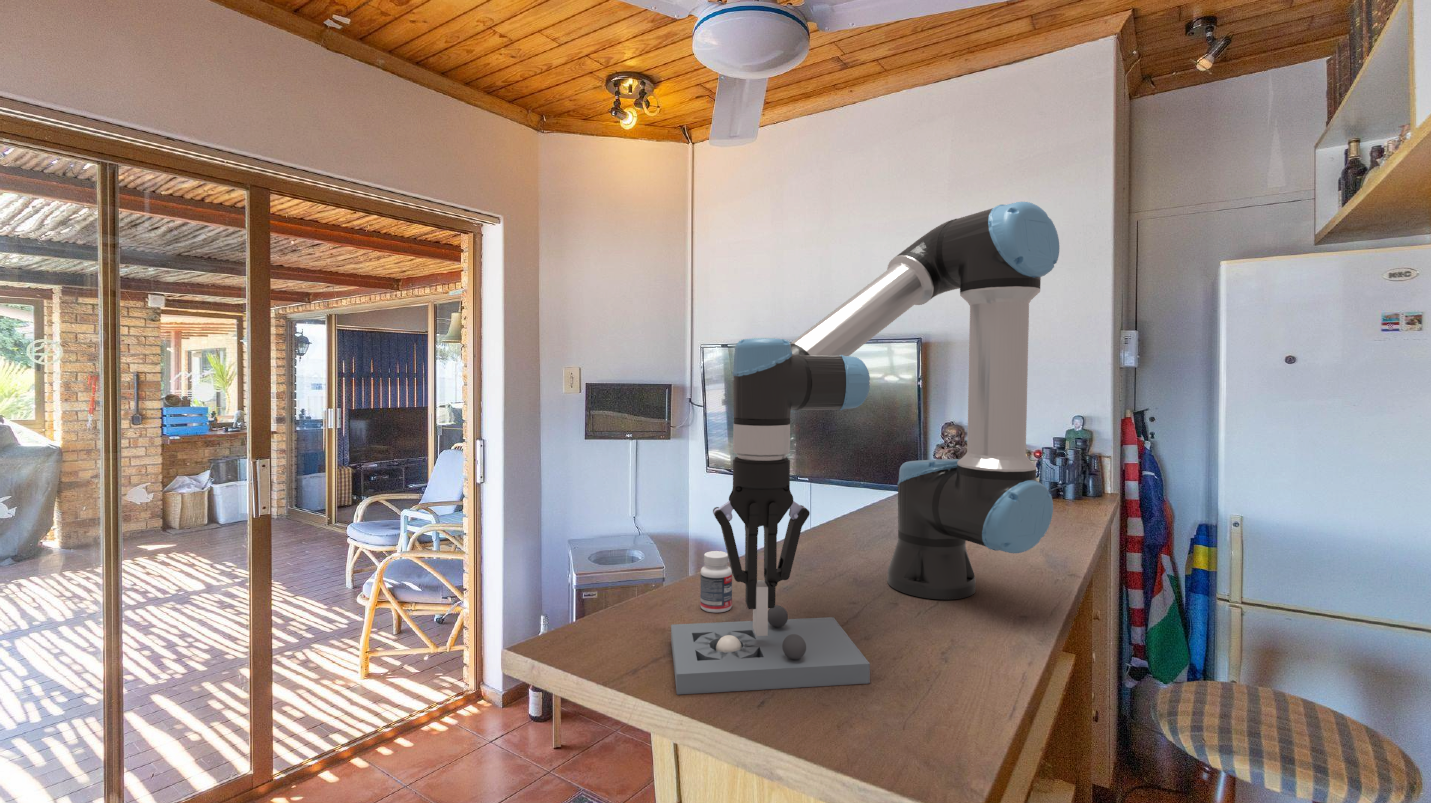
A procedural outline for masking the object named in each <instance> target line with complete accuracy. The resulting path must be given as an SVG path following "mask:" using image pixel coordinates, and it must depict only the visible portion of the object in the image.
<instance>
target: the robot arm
mask: <svg viewBox="0 0 1431 803" xmlns="http://www.w3.org/2000/svg"><path fill="white" fill-rule="evenodd" d="M1059 256H1060V238H1059V234H1058V230H1057V228H1056V225H1055V223H1054V221H1053V220H1052V219H1051V218H1050V217H1049V215H1048V214H1047V212H1046V211H1045V210H1044V209H1043V208H1041V207H1040V206H1039V205H1037V204H1035V203H1032V202H1028V201H1016V202H1011V203H1007V204H999V205H996V206H993V207H992V208H988V209H986V210H983V211H979V212H976V213H971V214H969V215H966V216H961V217H960V218H954V219H951V220H948V221H946V222H943V223H941V224H940V225H938V226H935V228H932V229H931V230H930V231H928V232H927V233H924V235H922V236H921V237H919V238H918V239H917V240H916V241H914V242H913V243H911V244H910V245H909V246H908V247H906V248H905V249H904V250H903V251H901V252H900V253H899V254H897V255H896V256H894V257H893V258H892V259H891V260H889V263H888V264H887V268H886V269H887V270H886V271H884V272H883V273H882V274H880V275H879V276H878V277H876V278H875V279H874V280H872V281H871V282H870V283H869V284H867V285H865V286H864V287H863V288H862V289H860V290H859V291H857V292H856V293H855V294H854V295H853V296H850V298H848V299H847V300H846V301H845V302H843V303H842V304H840V305H839V306H838V307H836V308H835V309H834V310H833V311H831V312H830V313H828V314H827V315H826V316H824V317H823V318H822V319H820V320H819V321H817V322H816V323H815V324H814V325H812V326H811V327H810V328H808V329H807V330H806V331H804V333H802V334H800V335H799V336H798V337H797V338H795V339H794V340H793V341H791V342H790V340H788V339H785V338H775V337H774V338H769V337H768V338H767V337H761V338H756V337H755V338H745V339H741V340H739V341H738V342H737V343H736V345H735V346H734V355H733V365H732V366H733V367H732V372H731V374H732V378H733V382H732V383H733V430H732V431H733V434H732V435H733V437H732V440H733V441H732V442H733V443H732V445H733V446H732V451H733V453H734V454H736V455H737V456H735V457H734V458H733V459H732V489H731V492H730V494H729V497H728V501H727V502H725V503H724V504H723V505H721V506H720V507H719V506H716V507H714V508H713V509H712V514H713V516H714V518H715V520H716V521H717V522H718V524H719V525H720V529H721V533H722V536H723V541H724V545H725V550H726V553H727V554H728V560H729V561H728V564H729V567H730V568H731V571H732V577H733V579H734V580H735V581H736V582H737V583H743V584H745V600H744V601H745V604H746V606H747V609H748V610H752V621H753V629H754V632H755V634H756V636H768V610H769V609H770V608H774V607H775V605H776V587H777V586H778V583H779V582H781V581H787V580H789V579H790V576H791V572H792V568H793V565H794V560H795V557H796V552H797V547H798V544H799V539H800V535H801V532H802V529H803V526H804V525H805V523H806V522H807V520H808V518H809V517H810V514H811V513H810V510H809V509H807V507H805V506H804V505H801V504H799V503H797V502H795V501H794V496H793V494H792V492H791V490H790V489H791V488H790V486H791V476H790V475H791V460H790V459H789V458H788V457H787V455H789V454H790V453H791V416H792V415H791V413H792V412H791V411H801V410H802V411H804V410H805V411H806V410H807V411H808V410H809V411H811V410H813V411H815V410H816V411H818V410H819V411H821V410H822V411H823V410H825V411H826V410H827V411H828V410H829V411H830V410H837V411H843V410H848V409H856V408H858V407H860V406H862V404H864V402H865V401H866V399H867V397H868V395H869V393H870V389H871V388H870V384H871V383H870V380H871V377H870V372H869V369H868V367H867V365H866V364H865V363H864V361H863V360H862V359H861V358H858V357H856V356H851V355H852V354H853V353H854V352H856V351H857V350H858V349H860V348H861V347H862V346H864V345H865V344H867V342H869V341H870V340H872V339H873V338H874V337H875V336H877V335H878V334H879V333H880V332H881V331H883V330H884V329H885V328H887V327H888V326H889V325H891V324H892V323H893V322H894V321H896V320H897V319H899V317H901V316H902V315H903V314H904V313H906V312H907V311H909V310H910V309H911V308H912V307H914V306H922V305H925V304H927V303H928V302H929V301H931V300H932V299H933V298H935V297H936V296H938V295H941V294H943V293H947V292H950V291H954V290H958V289H959V294H960V297H961V299H963V300H964V301H965V302H966V303H967V304H968V305H969V335H968V336H969V337H968V338H969V340H968V341H969V342H968V343H969V346H968V386H967V387H968V388H967V389H968V393H967V394H968V396H967V397H968V399H967V400H968V401H967V441H966V442H967V443H966V444H967V448H966V449H967V450H966V453H965V455H963V456H962V457H961V458H947V459H946V458H945V459H944V458H943V459H924V460H922V459H921V460H919V459H918V460H909V461H906V462H903V463H902V464H901V465H900V467H899V473H898V481H897V542H896V545H895V549H894V551H893V554H892V557H891V559H890V562H889V564H888V567H887V584H888V585H889V586H890V587H891V588H892V589H894V590H896V591H897V592H901V593H903V594H905V595H909V596H914V597H917V598H924V599H929V600H945V601H946V600H959V599H965V598H968V597H970V596H972V595H973V594H975V592H976V584H977V582H976V576H975V572H974V569H973V567H972V563H971V559H970V556H969V554H968V551H967V547H966V544H967V542H970V543H972V544H973V543H974V544H977V545H980V546H983V547H985V548H987V549H988V550H991V551H995V552H998V551H1001V552H1004V553H1009V554H1021V553H1026V552H1027V551H1029V550H1031V549H1033V548H1034V547H1035V546H1037V545H1038V544H1039V543H1040V540H1042V538H1044V536H1045V535H1046V533H1047V532H1048V530H1049V528H1050V525H1051V523H1052V519H1053V518H1052V517H1053V516H1054V515H1053V513H1054V501H1053V496H1052V494H1051V493H1050V492H1049V489H1048V487H1046V486H1045V485H1044V484H1042V483H1041V482H1040V481H1038V480H1037V465H1036V464H1035V463H1034V462H1032V461H1031V460H1030V459H1029V458H1028V456H1027V421H1028V420H1027V418H1028V416H1027V412H1028V410H1027V409H1028V408H1027V407H1028V406H1027V405H1028V370H1029V369H1028V368H1029V367H1028V366H1029V364H1028V362H1029V361H1028V360H1029V331H1030V330H1029V327H1030V326H1029V324H1030V323H1029V322H1030V319H1029V318H1030V302H1032V300H1033V299H1034V298H1036V296H1038V294H1039V293H1040V292H1041V281H1042V277H1044V276H1046V275H1047V274H1049V273H1050V272H1052V270H1053V269H1054V268H1055V264H1057V262H1058V260H1059ZM733 510H734V512H735V513H736V514H737V515H738V517H739V519H740V520H741V521H742V522H743V524H744V530H745V531H744V532H745V534H744V536H745V538H744V539H745V540H744V541H745V542H744V552H745V553H744V569H743V568H742V565H741V560H740V557H739V552H738V548H737V544H736V539H735V536H734V535H735V534H734V531H733V527H732V525H731V521H732V519H733V514H732V512H733ZM788 511H789V512H788ZM787 512H788V517H789V520H788V523H787V527H786V531H785V535H784V536H785V537H784V539H783V544H782V547H781V548H782V549H781V552H780V556H779V560H778V565H777V557H778V554H777V552H778V551H777V549H778V548H777V546H778V545H777V544H778V542H777V540H778V539H777V537H778V530H779V529H778V528H779V527H778V524H779V523H780V522H781V521H782V519H783V518H784V516H785V515H786V514H787ZM760 527H763V578H764V579H762V580H761V579H758V535H759V528H760Z"/></svg>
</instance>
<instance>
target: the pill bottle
mask: <svg viewBox="0 0 1431 803" xmlns="http://www.w3.org/2000/svg"><path fill="white" fill-rule="evenodd" d="M703 556H704V557H703V563H704V566H702V567H701V568H700V598H699V600H700V602H699V605H700V609H702V610H703V611H704V612H708V613H716V614H717V613H718V614H719V613H725V612H727V611H729V610H731V609H732V607H733V574H732V571H731V567H730V565H728V564H729V558H728V554H727V551H726V552H725V551H720V550H719V551H718V550H713V551H712V550H711V551H707V552H705V553H704V555H703Z"/></svg>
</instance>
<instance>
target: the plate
mask: <svg viewBox="0 0 1431 803" xmlns="http://www.w3.org/2000/svg"><path fill="white" fill-rule="evenodd" d="M670 629H671V630H670V642H671V652H672V661H673V672H674V682H675V691H676V695H691V694H693V695H695V694H709V693H710V694H712V693H727V692H745V691H758V690H759V691H760V690H762V691H763V690H777V689H778V690H779V689H780V690H781V689H795V688H796V689H797V688H812V687H828V686H829V687H830V686H831V687H832V686H845V685H847V686H848V685H849V686H850V685H860V684H861V685H863V684H865V685H866V684H870V683H871V682H870V681H871V680H870V678H871V674H870V671H871V663H870V661H868V659H867V658H866V657H865V656H864V654H863V653H862V652H861V650H860V649H859V647H857V645H856V644H855V643H854V642H853V640H852V639H851V638H850V636H849V635H848V634H847V633H846V631H845V630H844V629H843V628H842V626H841V625H840V624H839V622H838V621H837V620H836V619H835V618H834V616H832V617H831V616H830V617H829V616H828V617H826V616H825V617H810V618H806V617H805V618H788V620H787V622H786V624H785V625H784V626H782V627H779V628H776V627H773V626H772V625H770V624H769V622H768V636H756V634H755V632H754V629H753V620H744V621H743V620H742V621H740V620H739V621H724V622H723V621H720V622H702V623H701V622H699V623H680V624H679V623H678V624H677V623H676V624H670ZM791 634H797V635H799V636H801V637H802V638H803V639H804V641H805V643H806V652H805V654H804V655H803V656H802V657H801V658H799V659H795V660H794V659H790V658H788V657H787V656H786V655H785V654H784V652H783V648H782V644H783V641H784V639H785V638H786V637H787V636H788V635H791ZM726 635H732V636H734V637H736V638H737V639H738V640H739V641H740V643H741V645H742V648H741V649H740V650H737V651H734V652H720V651H716V645H717V642H718V641H719V639H720V638H722V637H723V636H726Z"/></svg>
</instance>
